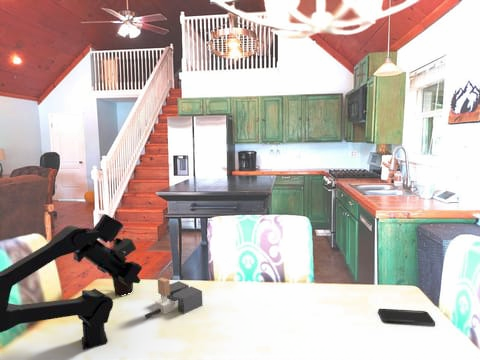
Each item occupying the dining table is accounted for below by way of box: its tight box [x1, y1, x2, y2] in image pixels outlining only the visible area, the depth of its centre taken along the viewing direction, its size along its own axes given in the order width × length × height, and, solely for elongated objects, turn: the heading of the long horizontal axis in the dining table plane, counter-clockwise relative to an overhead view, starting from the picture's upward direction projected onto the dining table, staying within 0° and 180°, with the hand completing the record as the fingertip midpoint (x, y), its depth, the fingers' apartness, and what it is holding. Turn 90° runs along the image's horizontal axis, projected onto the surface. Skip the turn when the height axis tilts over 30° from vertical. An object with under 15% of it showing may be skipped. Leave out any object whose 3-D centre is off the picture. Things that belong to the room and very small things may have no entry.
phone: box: [377, 308, 436, 327], centre depth 105 cm, size 8×1×15 cm
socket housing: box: [160, 281, 204, 315], centre depth 119 cm, size 8×14×5 cm, turn 47°
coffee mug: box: [111, 277, 134, 296], centre depth 131 cm, size 12×9×10 cm
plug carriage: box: [144, 277, 175, 319], centre depth 111 cm, size 10×5×11 cm, turn 137°
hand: (137, 280), depth 106 cm, fingers closed
